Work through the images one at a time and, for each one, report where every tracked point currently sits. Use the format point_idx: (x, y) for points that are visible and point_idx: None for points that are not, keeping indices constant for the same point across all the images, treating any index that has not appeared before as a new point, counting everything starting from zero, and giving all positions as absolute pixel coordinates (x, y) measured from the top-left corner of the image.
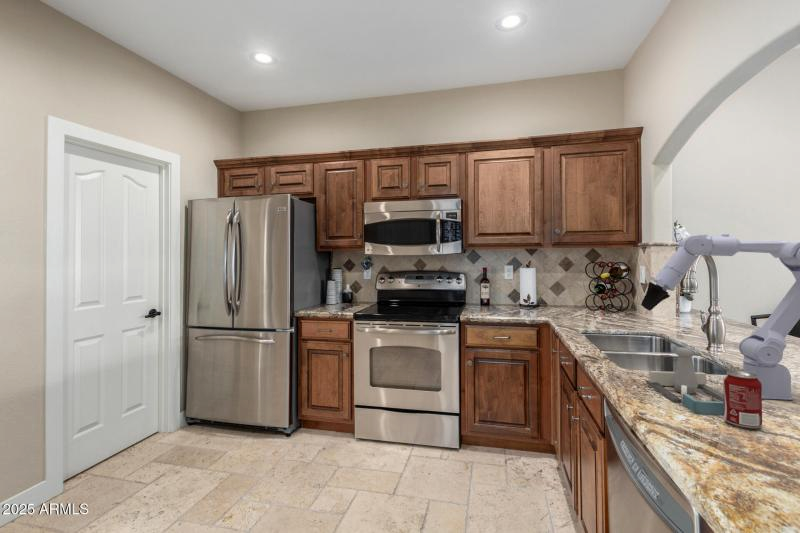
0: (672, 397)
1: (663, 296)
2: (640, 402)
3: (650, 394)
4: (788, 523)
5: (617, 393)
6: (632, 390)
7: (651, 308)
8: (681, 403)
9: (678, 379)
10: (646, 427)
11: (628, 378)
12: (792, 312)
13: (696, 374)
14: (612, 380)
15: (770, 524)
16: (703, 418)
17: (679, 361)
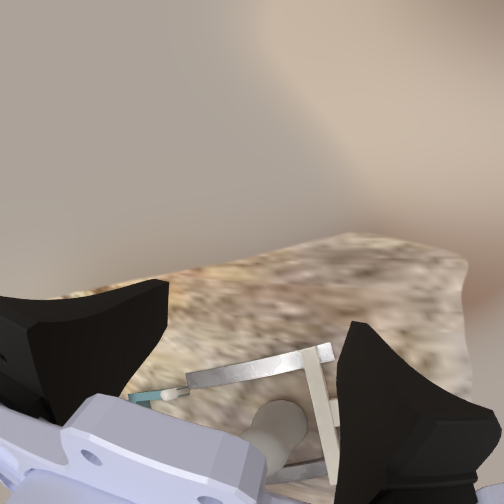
0: (196, 374)
1: (340, 497)
2: (171, 307)
3: (234, 337)
4: None
5: (217, 266)
6: (252, 301)
7: (338, 378)
8: (186, 386)
9: (261, 410)
10: (74, 296)
11: (366, 300)
12: None
13: (326, 464)
14: (328, 259)
15: None
16: (125, 395)
17: (257, 426)
